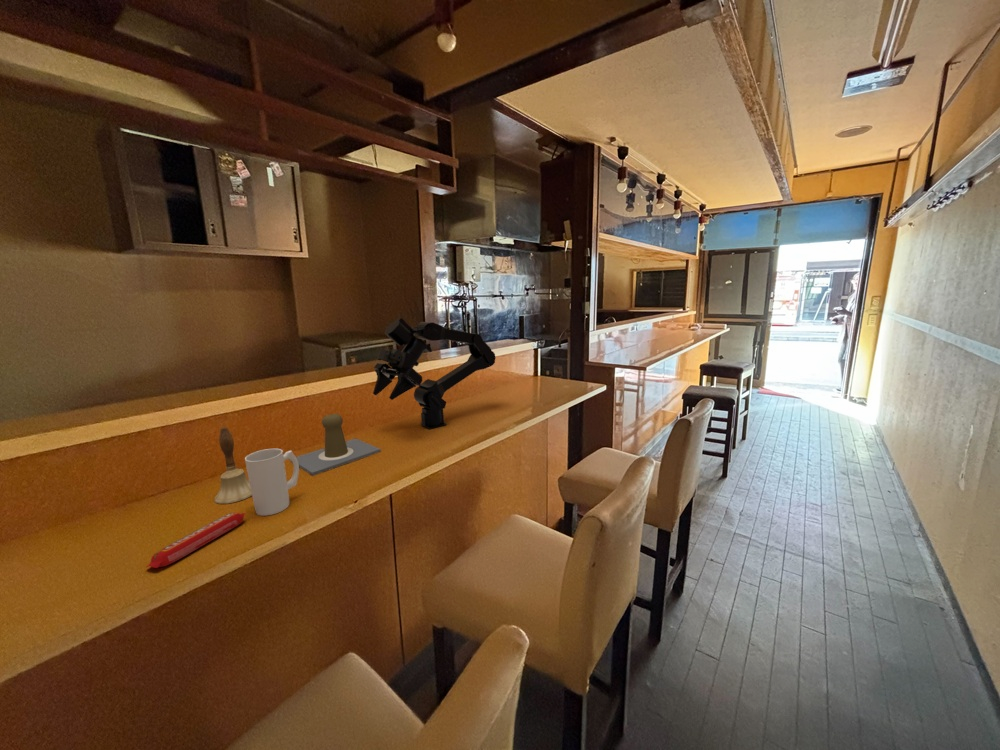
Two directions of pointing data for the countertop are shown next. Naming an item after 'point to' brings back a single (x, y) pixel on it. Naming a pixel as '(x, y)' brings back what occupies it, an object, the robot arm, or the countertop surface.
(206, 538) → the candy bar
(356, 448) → the board
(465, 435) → the countertop surface
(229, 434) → the hand bell
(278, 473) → the mug
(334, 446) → the olive rounded peg
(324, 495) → the countertop surface
